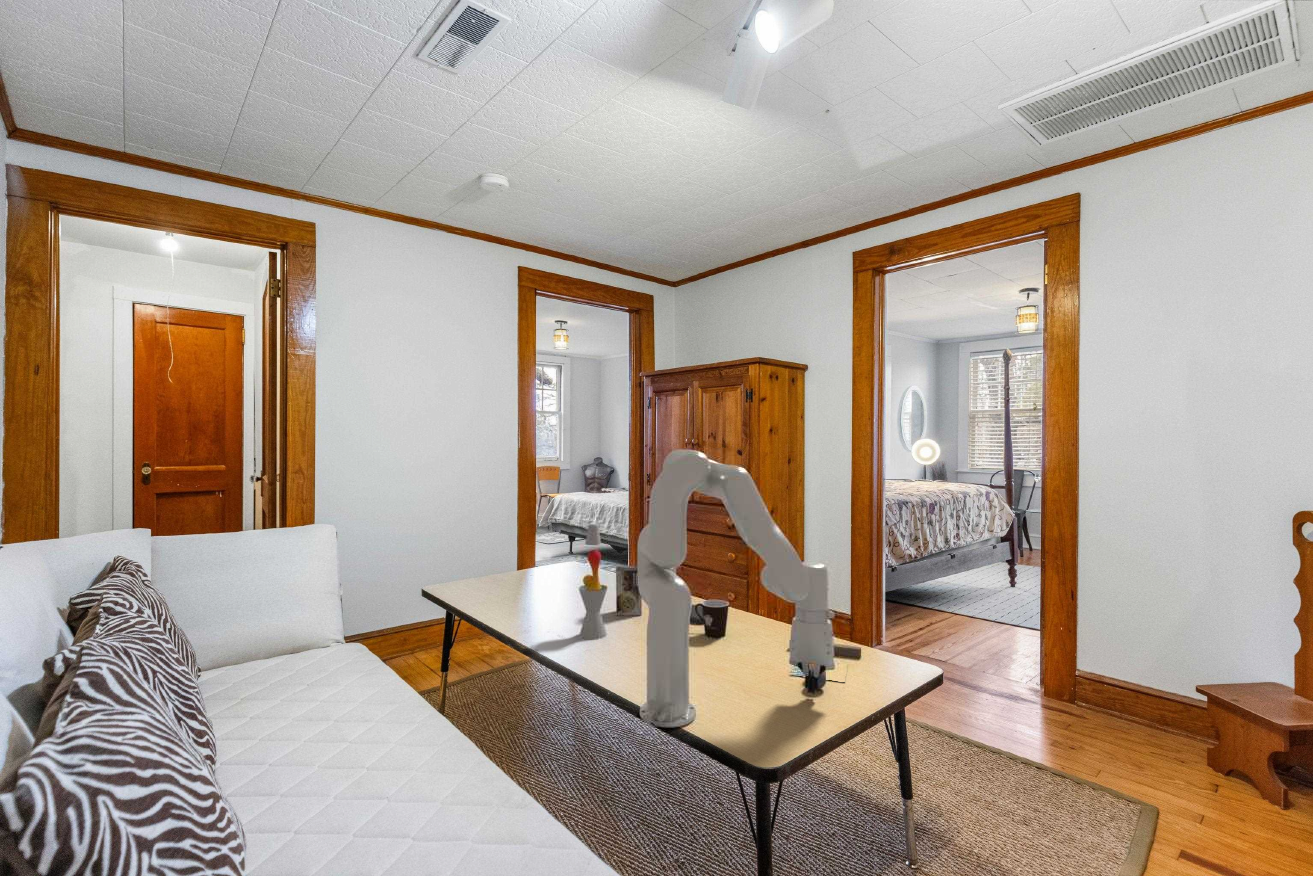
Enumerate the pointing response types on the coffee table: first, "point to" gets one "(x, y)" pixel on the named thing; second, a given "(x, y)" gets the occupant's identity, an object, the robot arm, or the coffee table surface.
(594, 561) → the lava lamp
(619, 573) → the coffee box
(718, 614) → the coffee mug
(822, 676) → the grey ball
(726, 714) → the coffee table surface
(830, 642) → the robot arm
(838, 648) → the wall
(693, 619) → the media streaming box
